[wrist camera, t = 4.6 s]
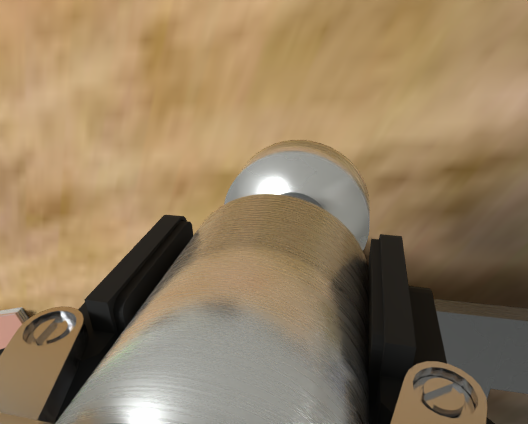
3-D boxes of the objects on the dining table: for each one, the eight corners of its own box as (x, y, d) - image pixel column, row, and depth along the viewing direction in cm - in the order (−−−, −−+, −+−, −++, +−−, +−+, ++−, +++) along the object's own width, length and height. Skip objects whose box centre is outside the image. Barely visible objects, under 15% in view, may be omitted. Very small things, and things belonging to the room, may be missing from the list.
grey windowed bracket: (651, 251, 25) (763, 346, 18) (569, 425, 33) (628, 541, 26) (294, 224, 29) (274, 293, 22) (291, 383, 37) (276, 474, 30)
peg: (376, 143, 14) (392, 529, 4) (362, 268, 16) (351, 712, 6) (232, 136, 15) (-54, 425, 5) (238, 254, 17) (54, 616, 7)
